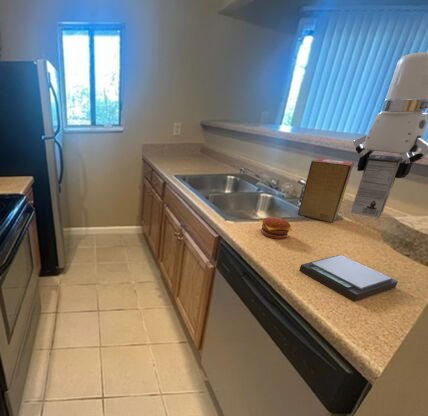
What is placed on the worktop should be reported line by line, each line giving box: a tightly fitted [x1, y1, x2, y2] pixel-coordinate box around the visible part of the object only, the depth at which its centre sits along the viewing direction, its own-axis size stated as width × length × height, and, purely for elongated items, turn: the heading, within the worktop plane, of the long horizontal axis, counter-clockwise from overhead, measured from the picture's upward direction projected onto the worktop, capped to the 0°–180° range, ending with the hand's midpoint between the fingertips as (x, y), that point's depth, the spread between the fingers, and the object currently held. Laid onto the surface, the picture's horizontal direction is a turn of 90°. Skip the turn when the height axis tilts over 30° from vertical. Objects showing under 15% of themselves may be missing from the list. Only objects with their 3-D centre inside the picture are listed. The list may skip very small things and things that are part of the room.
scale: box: [299, 254, 399, 302], centre depth 80 cm, size 15×17×3 cm
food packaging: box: [297, 157, 355, 224], centre depth 120 cm, size 13×9×25 cm
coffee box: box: [350, 154, 403, 219], centre depth 78 cm, size 9×6×16 cm
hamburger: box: [259, 216, 294, 240], centre depth 107 cm, size 9×10×7 cm
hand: (380, 173), depth 76 cm, fingers closed on coffee box, 8 cm apart
